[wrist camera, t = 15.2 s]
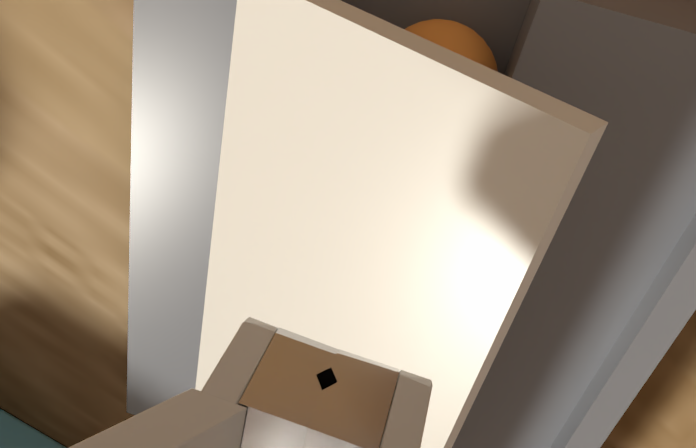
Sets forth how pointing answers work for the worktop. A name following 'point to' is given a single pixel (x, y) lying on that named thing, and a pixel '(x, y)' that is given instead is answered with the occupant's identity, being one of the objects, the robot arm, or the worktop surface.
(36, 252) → the worktop surface
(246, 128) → the cover
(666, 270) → the grooved grey base
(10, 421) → the data package
